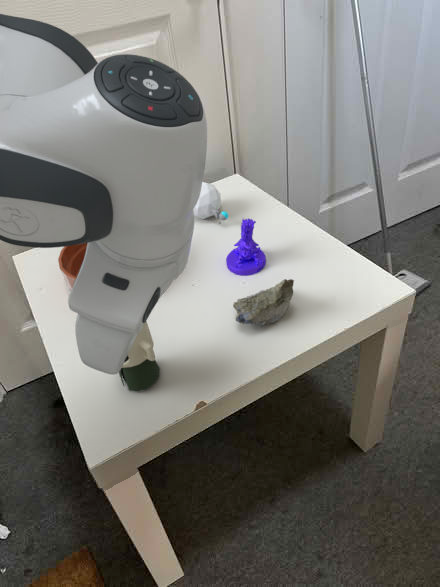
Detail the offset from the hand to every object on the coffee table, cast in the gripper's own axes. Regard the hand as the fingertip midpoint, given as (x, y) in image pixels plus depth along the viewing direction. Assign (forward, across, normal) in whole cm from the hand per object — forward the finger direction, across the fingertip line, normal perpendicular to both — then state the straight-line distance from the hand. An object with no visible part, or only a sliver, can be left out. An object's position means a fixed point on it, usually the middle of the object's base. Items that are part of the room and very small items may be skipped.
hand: (139, 314), depth 54 cm
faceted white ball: (+30, -45, -1) cm, 54 cm away
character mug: (+23, -2, 0) cm, 23 cm away
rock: (+20, -19, +16) cm, 32 cm away
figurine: (+24, -32, +10) cm, 41 cm away
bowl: (+31, -24, -15) cm, 42 cm away
